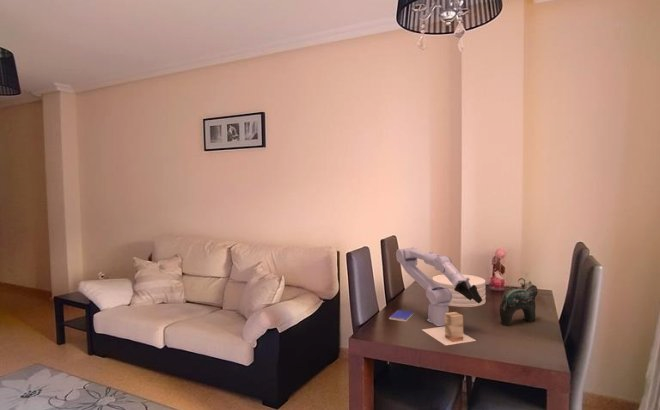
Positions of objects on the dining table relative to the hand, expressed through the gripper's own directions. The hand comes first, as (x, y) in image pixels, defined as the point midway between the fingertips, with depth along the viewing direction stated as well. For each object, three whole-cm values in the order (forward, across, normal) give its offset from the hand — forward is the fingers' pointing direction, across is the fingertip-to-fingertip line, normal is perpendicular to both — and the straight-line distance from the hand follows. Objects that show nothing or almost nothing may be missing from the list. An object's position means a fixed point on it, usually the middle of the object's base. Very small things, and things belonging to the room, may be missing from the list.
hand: (476, 300), depth 153 cm
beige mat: (+2, 0, +19) cm, 19 cm away
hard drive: (-23, +7, +35) cm, 42 cm away
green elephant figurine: (+6, +35, 0) cm, 35 cm away
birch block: (+6, -2, +17) cm, 18 cm away
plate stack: (-28, +49, +18) cm, 59 cm away
